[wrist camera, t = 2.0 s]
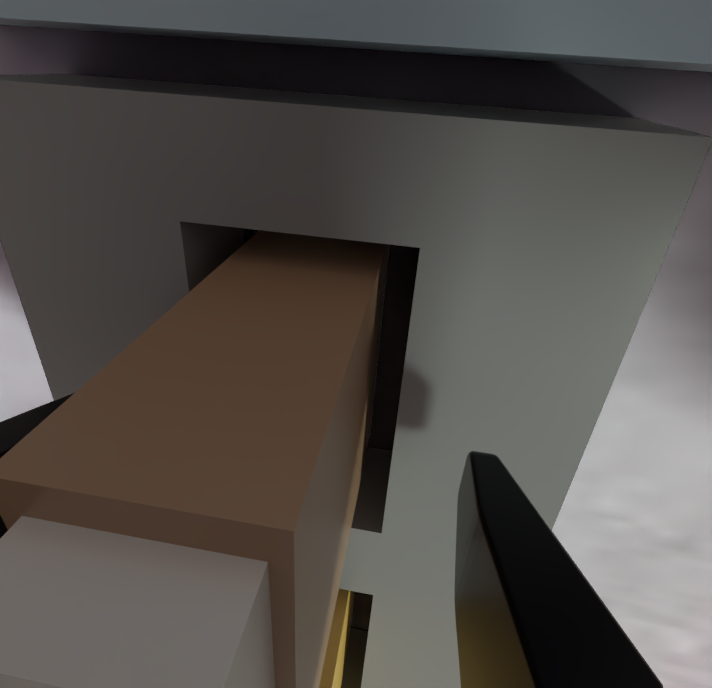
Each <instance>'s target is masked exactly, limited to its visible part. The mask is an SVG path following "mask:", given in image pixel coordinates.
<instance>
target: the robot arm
mask: <svg viewBox="0 0 712 688" xmlns="http://www.w3.org/2000/svg"><path fill="white" fill-rule="evenodd" d="M73 394H74V393H72V394H70V395H67V396H65V397H62V398H60V399H57V400H55V401H52V402H50V403H47V404H45V405H42V406H40V407H37V408H35V409H32V410H30V411H27V412H25V413H22V414H20V415H17V416H15V417H12V418H10V419H7V420H5V421H2V422H0V458H1V457H2V456H4V455H5V454H6V453H7V452H8V451H9V450H10V449H12V448H13V447H14V446H15V445H16V444H17V443H18V442H20V441H21V440H22V439H23V438H24V437H25V436H26V435H27V434H29V433H30V432H31V431H32V430H33V429H34V428H35V427H37V426H38V425H39V424H40V423H41V422H42V421H43V420H45V419H46V418H47V417H48V416H49V415H50V414H51V413H52V412H54V411H55V410H56V409H57V408H58V407H59V406H60V405H62V404H63V403H64V402H65V401H66V400H67V399H68V398H70V397H71V396H72V395H73ZM7 531H8V529H7V527H6V525H5V523H4V521H3V519H2V517H1V515H0V538H1V537H2V536H3V535H4V534H5V533H6V532H7ZM455 619H456V631H457V644H458V656H459V669H460V681H461V688H663V685H662V683H661V682H660V681H659V679H658V678H657V676H656V675H655V674H654V672H653V671H652V670H651V668H650V667H649V665H648V664H647V663H646V661H645V660H644V658H643V657H642V656H641V654H640V653H639V651H638V650H637V649H636V647H635V646H634V645H633V643H632V642H631V640H630V639H629V638H628V636H627V635H626V633H625V632H624V631H623V629H622V628H621V626H620V625H619V624H618V622H617V621H616V620H615V618H614V617H613V615H612V614H611V613H610V611H609V610H608V608H607V607H606V606H605V604H604V603H603V601H602V600H601V599H600V597H599V596H598V595H597V593H596V592H595V590H594V589H593V588H592V586H591V585H590V583H589V582H588V581H587V579H586V578H585V576H584V575H583V574H582V572H581V571H580V570H579V568H578V567H577V565H576V564H575V563H574V561H573V560H572V558H571V557H570V556H569V554H568V553H567V551H566V550H565V549H564V547H563V546H562V545H561V543H560V542H559V540H558V539H557V538H556V536H555V535H554V533H553V532H552V531H551V529H550V528H549V526H548V525H547V524H546V522H545V521H544V519H543V518H542V517H541V515H540V514H539V513H538V511H537V510H536V508H535V507H534V506H533V504H532V503H531V501H530V500H529V499H528V497H527V496H526V494H525V493H524V492H523V490H522V489H521V488H520V486H519V485H518V483H517V482H516V481H515V479H514V478H513V476H512V475H511V474H510V472H509V471H508V469H507V468H506V467H505V465H504V464H503V463H502V461H501V460H500V458H499V457H498V456H496V455H495V454H491V453H484V452H478V451H471V452H469V454H468V455H467V458H466V462H465V467H464V471H463V475H462V479H461V483H460V487H459V492H458V502H457V529H456V557H455Z"/></svg>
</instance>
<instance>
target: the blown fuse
mask: <svg viewBox="0 0 712 688" xmlns="http://www.w3.org/2000/svg"><path fill="white" fill-rule="evenodd" d="M388 255H389V244H380V243H371V242H362V241H353V240H344V239H335V238H326V237H317V236H308V235H299V234H290V233H281V232H272V231H263V230H259V231H258V232H257V233H256V234H255V235H254V236H253V237H251V238H250V239H249V240H248V241H247V242H246V243H245V244H243V245H242V246H241V247H240V248H239V249H238V250H237V251H236V252H234V253H233V254H232V255H231V256H230V257H229V258H228V259H226V260H225V261H224V262H223V263H222V264H221V265H220V266H218V267H217V268H216V269H215V270H214V271H213V272H212V273H210V274H209V275H208V276H207V277H206V278H205V279H204V280H203V281H201V282H200V283H199V284H198V285H197V286H196V287H195V288H193V289H192V290H191V291H190V292H189V293H188V294H187V295H185V296H184V297H183V298H182V299H181V300H180V301H179V302H178V303H176V304H175V305H174V306H173V307H172V308H171V309H170V310H168V311H167V312H166V313H165V314H164V315H163V316H162V317H160V318H159V319H158V320H157V321H156V322H155V323H154V324H153V325H151V326H150V327H149V328H148V329H147V330H146V331H145V332H143V333H142V334H141V335H140V336H139V337H138V338H137V339H135V340H134V341H133V342H132V343H131V344H130V345H129V346H128V347H126V348H125V349H124V350H123V351H122V352H121V353H120V354H118V355H117V356H116V357H115V358H114V359H113V360H112V361H110V362H109V363H108V364H107V365H106V366H105V367H104V368H103V369H101V370H100V371H99V372H98V373H97V374H96V375H95V376H93V377H92V378H91V379H90V380H89V381H88V382H87V383H85V384H84V385H83V386H82V387H81V388H80V389H79V390H78V391H76V392H75V393H74V394H73V395H72V396H71V397H70V398H68V399H67V400H66V401H65V402H64V403H63V404H62V405H60V406H59V407H58V408H57V409H56V410H55V411H54V412H52V413H51V414H50V415H49V416H48V417H47V418H46V419H45V420H43V421H42V422H41V423H40V424H39V425H38V426H37V427H35V428H34V429H33V430H32V431H31V432H30V433H29V434H27V435H26V436H25V437H24V438H23V439H22V440H21V441H20V442H18V443H17V444H16V445H15V446H14V447H13V448H12V449H10V450H9V451H8V452H7V453H6V454H5V455H4V456H2V457H1V458H0V515H1V517H2V519H3V521H4V523H5V525H6V527H7V529H8V531H7V532H6V533H5V534H4V535H3V536H2V537H1V538H0V688H319V685H320V680H321V675H322V670H323V665H324V660H325V655H326V650H327V645H328V640H329V635H330V630H331V625H332V620H333V615H334V610H335V605H336V600H337V595H338V590H339V585H340V580H341V576H342V571H343V566H344V561H345V556H346V551H347V546H348V541H349V536H350V531H351V526H352V521H353V516H354V511H355V506H356V501H357V496H358V491H359V486H360V481H361V476H362V471H363V466H364V462H365V457H366V452H367V447H368V442H369V437H370V432H371V426H372V416H373V406H374V396H375V386H376V376H377V366H378V356H379V346H380V336H381V326H382V316H383V306H384V296H385V286H386V276H387V265H388Z"/></svg>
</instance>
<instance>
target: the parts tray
mask: <svg viewBox="0 0 712 688" xmlns="http://www.w3.org/2000/svg"><path fill="white" fill-rule="evenodd" d="M0 25H13V26H28V27H43V28H58V29H73V30H88V31H103V32H118V33H133V34H148V35H163V36H178V37H193V38H208V39H223V40H238V41H253V42H268V43H283V44H298V45H313V46H328V47H343V48H358V49H373V50H388V51H403V52H418V53H433V54H448V55H463V56H478V57H493V58H508V59H523V60H538V61H553V62H568V63H583V64H597V65H612V66H627V67H642V68H657V69H672V70H687V71H702V72H712V0H0Z"/></svg>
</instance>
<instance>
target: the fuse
mask: <svg viewBox="0 0 712 688" xmlns="http://www.w3.org/2000/svg"><path fill="white" fill-rule="evenodd" d="M354 596H355V592H354V591H349V590H344V589H339V590H338V595H337V600H336V605H335V610H334V615H333V620H332V625H331V630H330V635H329V640H328V645H327V650H326V655H325V660H324V665H323V670H322V675H321V680H320V685H319V688H341V683H342V677H343V671H344V665H345V659H346V653H347V646H348V640H349V634H350V628H351V622H352V616H353V606H354Z"/></svg>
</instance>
